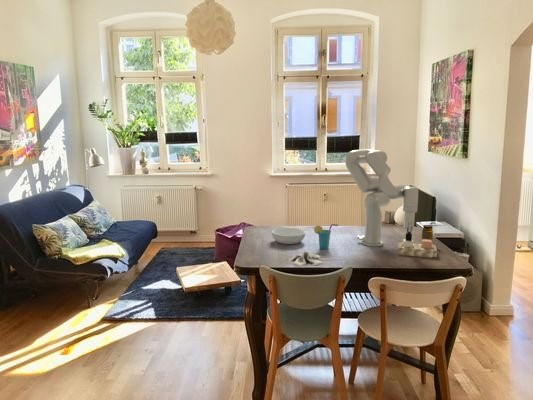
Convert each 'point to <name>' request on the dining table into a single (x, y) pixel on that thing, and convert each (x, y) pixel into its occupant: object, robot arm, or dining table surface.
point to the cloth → (305, 259)
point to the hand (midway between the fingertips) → (408, 240)
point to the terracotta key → (426, 244)
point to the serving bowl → (288, 235)
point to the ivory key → (407, 243)
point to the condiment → (427, 232)
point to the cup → (323, 236)
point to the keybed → (417, 250)
